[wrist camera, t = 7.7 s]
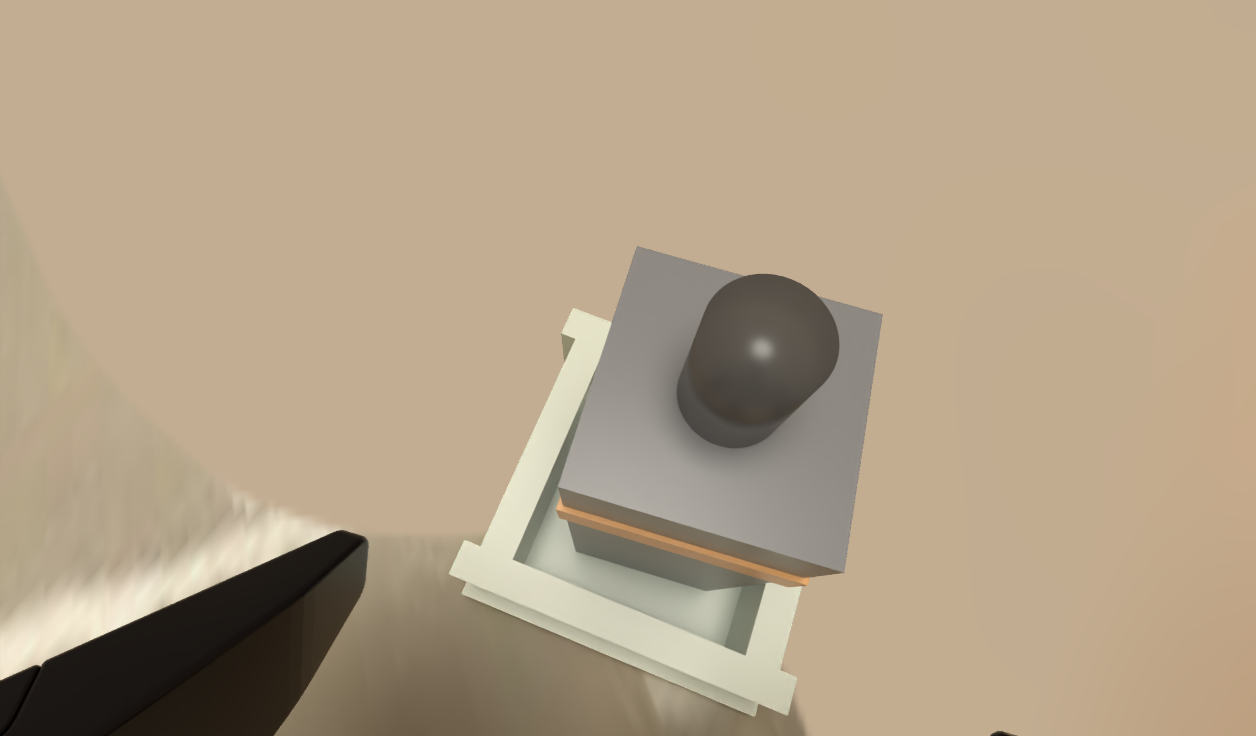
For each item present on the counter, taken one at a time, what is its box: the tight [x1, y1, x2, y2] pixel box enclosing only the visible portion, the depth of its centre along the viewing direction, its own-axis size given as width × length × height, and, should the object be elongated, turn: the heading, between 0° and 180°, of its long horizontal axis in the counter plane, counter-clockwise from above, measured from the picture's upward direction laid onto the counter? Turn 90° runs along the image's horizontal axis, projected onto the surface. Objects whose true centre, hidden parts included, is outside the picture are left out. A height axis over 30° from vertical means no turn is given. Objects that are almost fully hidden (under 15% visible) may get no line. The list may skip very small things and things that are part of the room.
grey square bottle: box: [556, 246, 882, 591], centre depth 15 cm, size 5×5×14 cm
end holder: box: [449, 308, 802, 717], centre depth 20 cm, size 10×10×4 cm
